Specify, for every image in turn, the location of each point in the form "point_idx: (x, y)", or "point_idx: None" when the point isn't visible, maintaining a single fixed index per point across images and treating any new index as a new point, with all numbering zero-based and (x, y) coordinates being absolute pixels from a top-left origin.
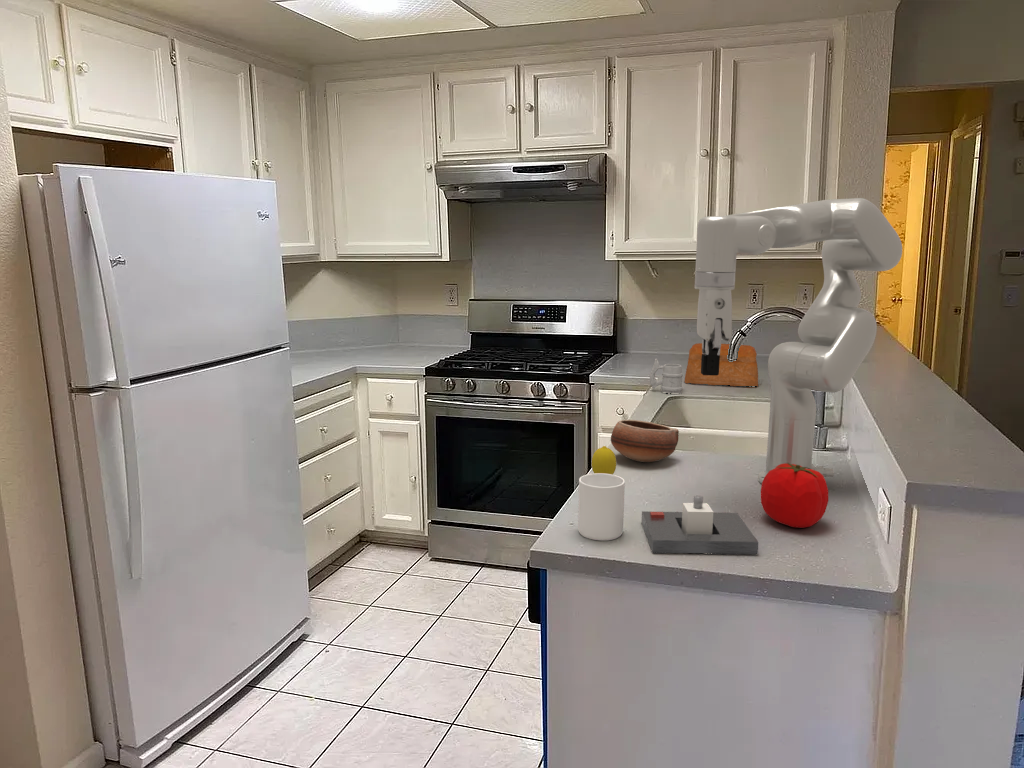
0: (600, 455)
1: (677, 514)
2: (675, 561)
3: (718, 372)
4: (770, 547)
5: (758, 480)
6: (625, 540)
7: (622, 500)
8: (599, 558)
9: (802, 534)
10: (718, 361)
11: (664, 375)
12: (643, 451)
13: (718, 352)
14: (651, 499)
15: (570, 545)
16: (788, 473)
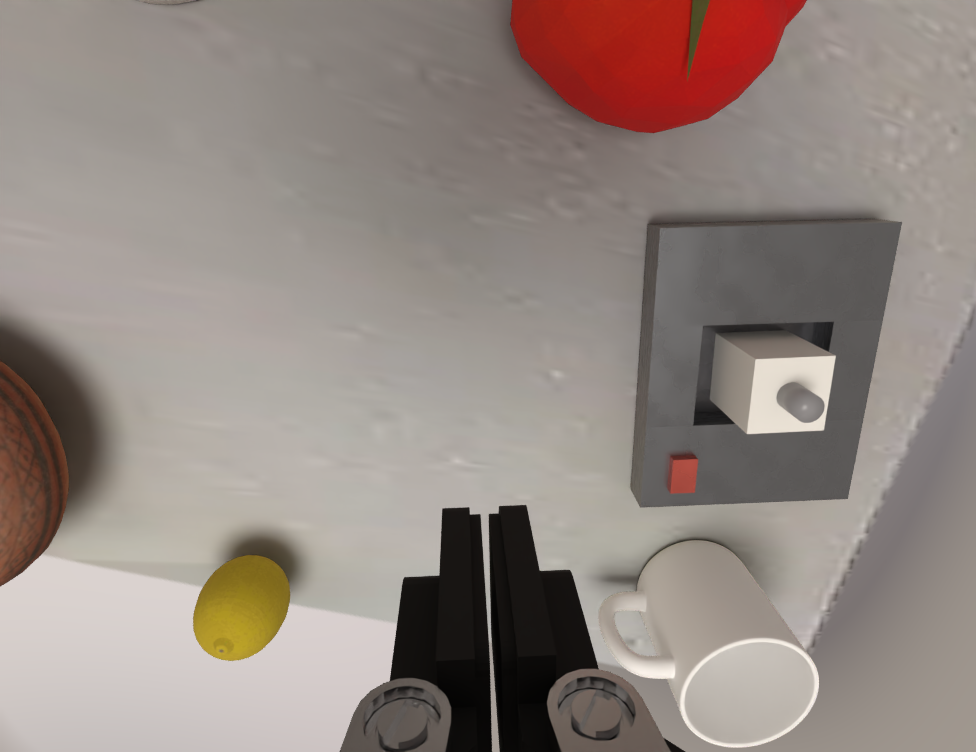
0: (265, 642)
1: (667, 415)
2: (879, 435)
3: (528, 518)
4: (827, 162)
5: (158, 3)
6: (742, 533)
7: (765, 606)
8: (838, 589)
9: None
10: (543, 605)
11: None
12: (67, 475)
13: (651, 732)
14: (429, 444)
15: None
16: (762, 18)
